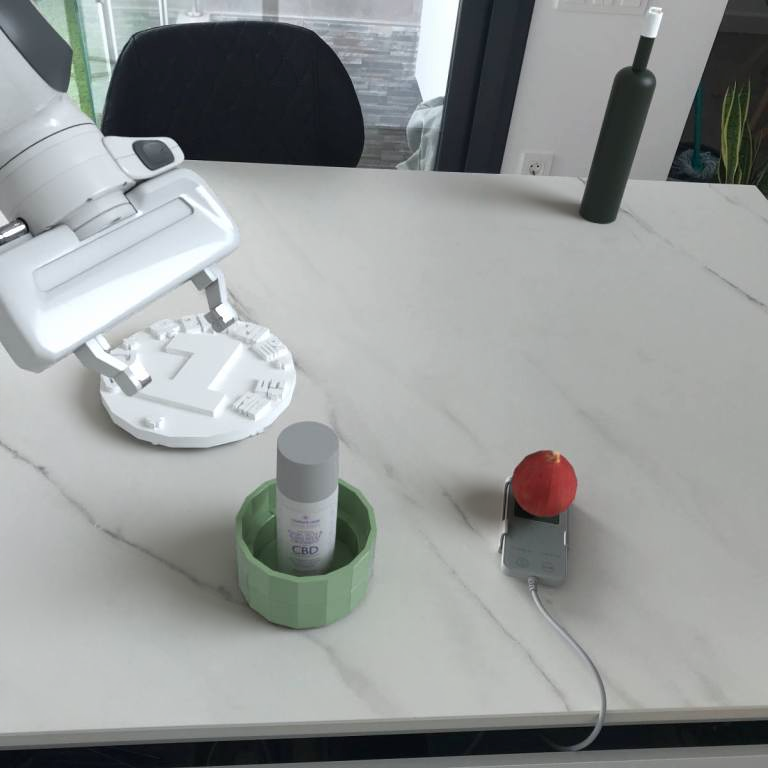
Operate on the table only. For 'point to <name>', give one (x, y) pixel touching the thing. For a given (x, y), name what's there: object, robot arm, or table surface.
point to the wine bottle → (621, 129)
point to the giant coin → (201, 383)
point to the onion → (544, 483)
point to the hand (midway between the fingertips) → (187, 356)
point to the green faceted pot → (310, 593)
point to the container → (306, 499)
